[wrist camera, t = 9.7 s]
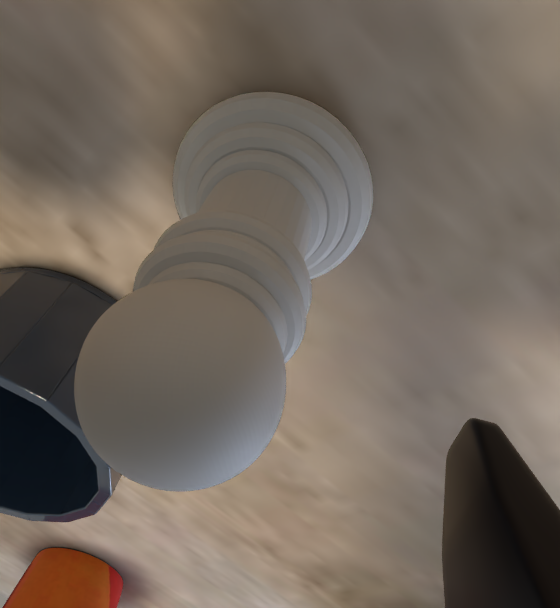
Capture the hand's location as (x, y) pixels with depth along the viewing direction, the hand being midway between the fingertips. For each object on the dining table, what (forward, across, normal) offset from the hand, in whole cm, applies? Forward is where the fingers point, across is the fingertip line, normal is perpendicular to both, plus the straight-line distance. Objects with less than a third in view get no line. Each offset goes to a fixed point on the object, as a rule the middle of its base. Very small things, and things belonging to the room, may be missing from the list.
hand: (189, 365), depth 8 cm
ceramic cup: (+7, +7, +9) cm, 13 cm away
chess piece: (+7, 0, 0) cm, 7 cm away
